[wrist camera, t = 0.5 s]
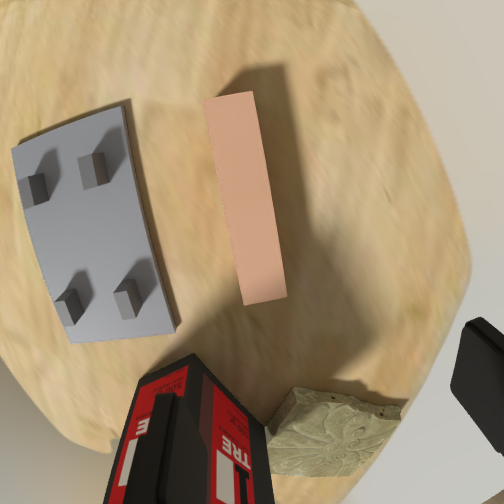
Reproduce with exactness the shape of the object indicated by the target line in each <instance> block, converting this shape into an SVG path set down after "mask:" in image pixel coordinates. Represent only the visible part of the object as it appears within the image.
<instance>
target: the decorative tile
mask: <svg viewBox="0 0 504 504" xmlns="http://www.w3.org/2000/svg"><path fill="white" fill-rule="evenodd" d="M400 413H401V408H400V407H398V406H395V405H384V406H377V405H373V404H370V403H369V402H363V401H359V400H357V399H356V398H355V397H354V396H352V395H347V396H345V395H343V394H342V393H341V394H339V393H331V392H322V391H317V390H310V389H307V388H303V387H293V388H292V389H291V390H290V392H289V393H288V395H287V396H286V398H285V399H284V401H283V402H282V404H281V405H280V407H279V408H278V410H277V411H276V413H275V414H274V416H273V417H272V419H271V420H270V422H269V423H268V425H267V426H266V428H265V435H266V442H267V450H268V457H269V465H270V472H271V474H277V475H288V476H308V477H345V476H349V475H351V474H352V473H353V472H355V471H356V470H357V469H358V468H359V467H361V466H362V465H363V464H364V463H365V462H366V461H367V460H368V459H369V458H370V457H371V456H372V455H373V454H374V452H376V451H377V450H378V449H379V448H380V446H381V445H382V444H383V443H384V442H385V441H386V440H387V439H388V438H389V437H390V435H391V434H392V433H393V432H394V430H395V428H396V427H397V425H398V424H399V423H400V421H401V416H400Z"/></svg>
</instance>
